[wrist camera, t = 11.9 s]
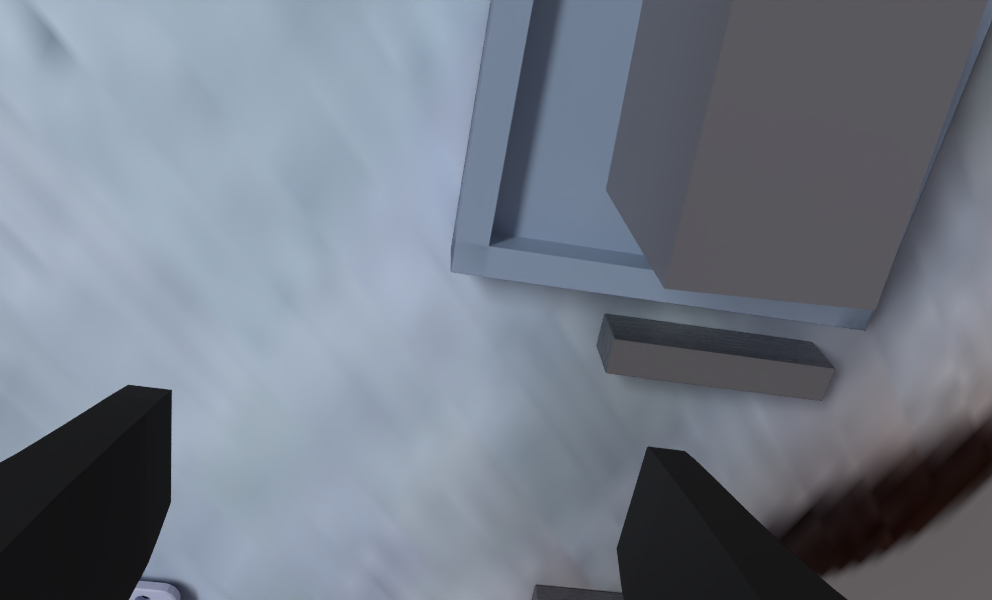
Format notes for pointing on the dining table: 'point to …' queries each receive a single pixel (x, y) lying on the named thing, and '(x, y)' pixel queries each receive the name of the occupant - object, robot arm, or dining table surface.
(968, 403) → the dining table surface
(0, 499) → the robot arm
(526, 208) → the tray
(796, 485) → the dining table surface
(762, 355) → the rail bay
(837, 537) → the dining table surface
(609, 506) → the dining table surface
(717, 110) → the grey bar
